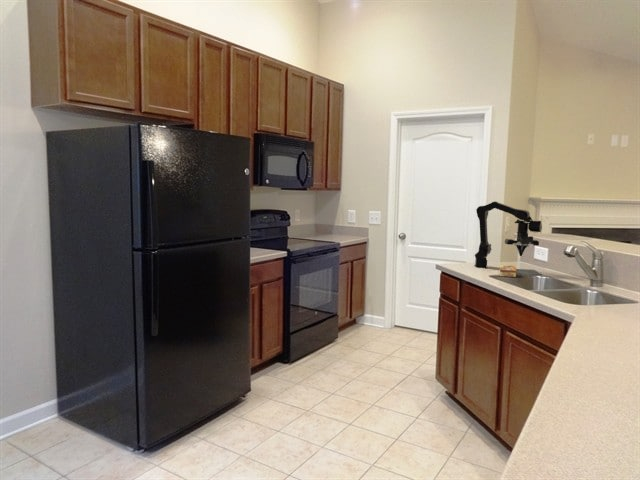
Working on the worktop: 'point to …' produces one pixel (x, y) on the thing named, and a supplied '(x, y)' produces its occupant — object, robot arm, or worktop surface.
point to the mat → (527, 272)
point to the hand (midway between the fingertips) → (520, 255)
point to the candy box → (508, 271)
